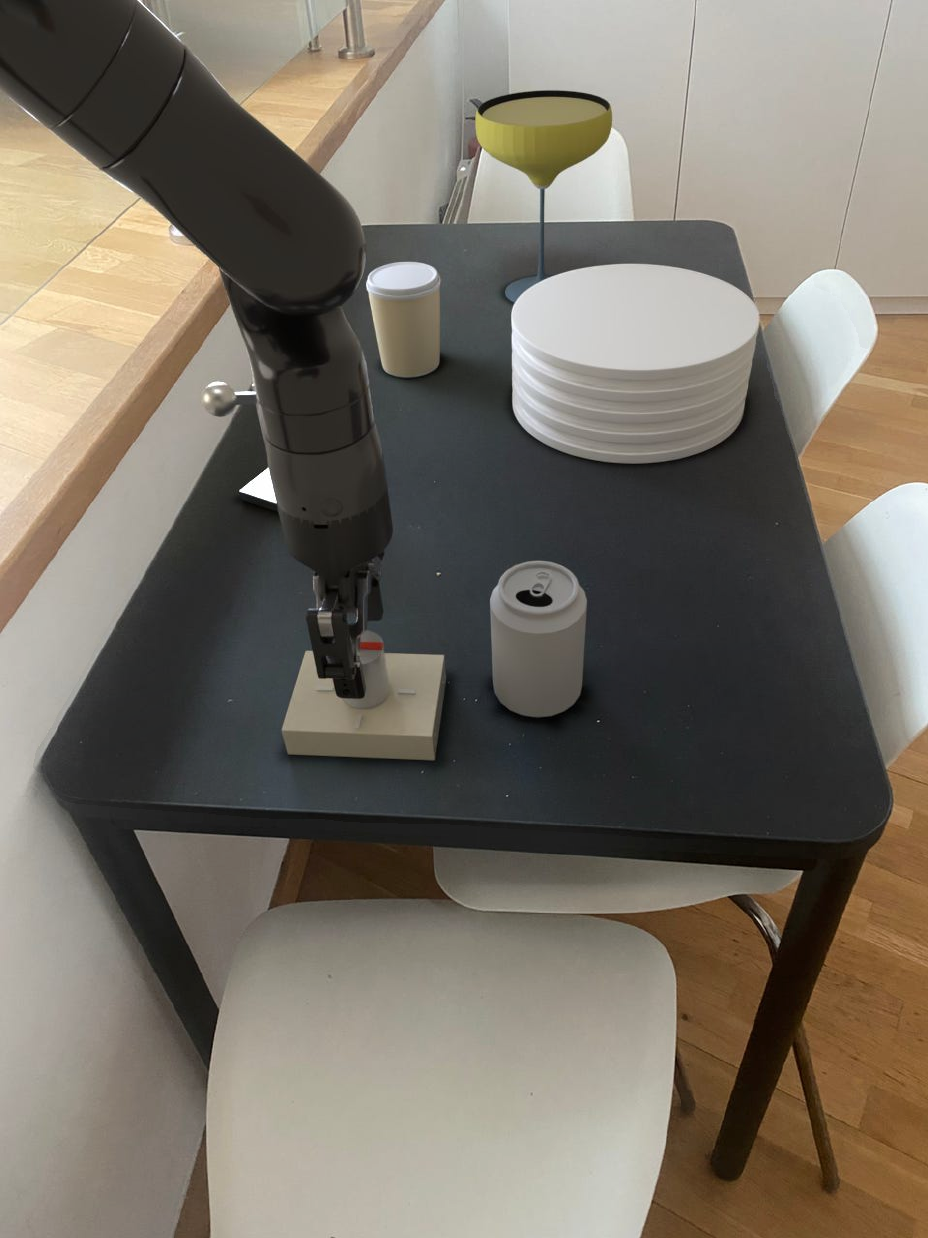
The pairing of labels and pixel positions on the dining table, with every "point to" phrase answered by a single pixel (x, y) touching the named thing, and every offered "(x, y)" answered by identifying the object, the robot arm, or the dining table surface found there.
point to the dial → (372, 672)
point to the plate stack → (632, 361)
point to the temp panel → (369, 713)
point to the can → (538, 638)
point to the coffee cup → (406, 317)
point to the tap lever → (224, 399)
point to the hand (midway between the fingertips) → (361, 655)
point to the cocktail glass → (542, 142)
